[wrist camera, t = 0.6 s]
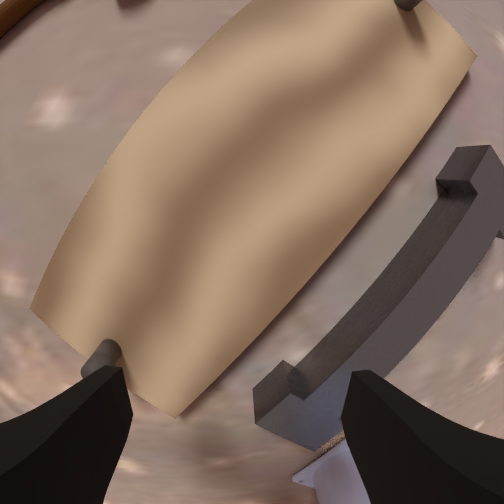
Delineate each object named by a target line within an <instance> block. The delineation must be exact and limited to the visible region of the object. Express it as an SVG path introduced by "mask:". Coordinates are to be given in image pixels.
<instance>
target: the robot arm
mask: <svg viewBox="0 0 504 504" xmlns="http://www.w3.org/2000/svg"><path fill="white" fill-rule="evenodd" d="M132 417H133V411H132V407H131V403H130V399H129V395H128V391H127V386H126V382H125V377H124V373H123V368H122V367H116V366H109V365H105V366H103V367H101V368H99V369H98V370H96V371H95V372H93V373H92V374H90V375H89V376H87V377H85V378H84V379H82V380H81V381H79V382H78V383H76V384H75V385H73V386H72V387H70V388H69V389H67V390H66V391H64V392H63V393H61V394H59V395H58V396H56V397H54V398H53V399H51V400H49V401H47V402H46V403H44V404H42V405H40V406H39V407H37V408H35V409H33V410H31V411H29V412H27V413H25V414H23V415H21V416H18V417H16V418H13V419H11V420H9V421H6V422H3V423H0V504H103V501H104V497H105V494H106V491H107V488H108V486H109V483H110V481H111V478H112V476H113V473H114V471H115V468H116V466H117V463H118V461H119V458H120V456H121V453H122V451H123V448H124V446H125V443H126V441H127V437H128V434H129V430H130V426H131V421H132ZM341 421H342V426H343V430H344V434H345V439H344V440H343V441H342V442H340V443H339V444H338V445H336V446H335V447H334V448H332V449H331V450H330V451H328V452H327V453H326V454H324V455H323V456H321V457H320V458H319V459H317V460H316V461H314V462H313V463H311V464H310V465H309V466H307V467H306V468H304V469H303V470H301V471H300V472H298V473H297V474H295V475H293V476H292V481H293V482H295V483H298V484H301V485H304V486H308V487H311V488H314V489H315V491H316V495H317V499H318V504H504V439H500V438H496V437H493V436H489V435H486V434H483V433H480V432H477V431H474V430H471V429H469V428H467V427H464V426H462V425H460V424H457V423H455V422H453V421H451V420H449V419H447V418H445V417H443V416H441V415H439V414H437V413H436V412H434V411H432V410H430V409H429V408H427V407H425V406H424V405H422V404H420V403H419V402H417V401H416V400H414V399H412V398H411V397H409V396H408V395H406V394H405V393H403V392H402V391H401V390H399V389H398V388H396V387H395V386H393V385H392V384H390V383H389V382H388V381H386V380H385V379H383V378H382V377H380V376H379V375H377V374H376V373H374V372H373V371H371V370H360V371H352V373H351V378H350V382H349V386H348V391H347V395H346V399H345V403H344V407H343V410H342V414H341Z"/></svg>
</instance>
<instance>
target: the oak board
mask: <svg viewBox="0 0 504 504" xmlns="http://www.w3.org/2000/svg"><path fill="white" fill-rule="evenodd" d="M476 57H477V55H476V54H475V53H474V51H473V50H472V49H471V48H470V47H469V45H468V44H467V43H466V42H465V41H464V40H463V39H462V37H461V36H460V35H459V34H458V33H457V32H456V31H455V30H454V29H453V28H452V26H451V25H450V24H449V23H448V22H447V21H446V20H445V19H444V18H443V17H442V16H441V15H440V14H439V13H438V12H437V11H436V10H435V9H434V8H433V7H432V6H431V5H429V4H428V3H427V2H426V1H425V0H252V1H251V2H250V3H249V4H248V5H246V6H245V7H244V8H243V9H242V10H241V11H239V12H238V13H237V14H236V15H235V16H234V17H233V18H231V19H230V20H229V21H228V22H227V23H226V24H225V25H224V26H223V27H221V28H220V29H219V30H218V31H217V32H216V33H215V34H214V35H213V36H212V37H211V38H210V39H209V40H208V41H207V42H206V43H205V44H204V45H203V46H202V47H201V48H200V49H199V50H198V51H197V52H196V53H195V54H194V55H193V56H192V57H191V58H190V59H189V60H188V61H187V62H186V63H185V64H184V65H183V66H182V68H181V69H180V70H179V71H178V72H177V73H176V74H175V75H174V76H173V77H172V79H171V80H170V81H169V82H168V83H167V84H166V85H165V87H164V88H163V89H162V90H161V91H160V92H159V94H158V95H157V96H156V97H155V98H154V100H153V101H152V102H151V103H150V104H149V106H148V107H147V108H146V109H145V111H144V112H143V113H142V114H141V116H140V117H139V118H138V120H137V121H136V122H135V123H134V125H133V126H132V127H131V129H130V130H129V131H128V133H127V134H126V135H125V137H124V138H123V140H122V141H121V142H120V144H119V145H118V147H117V148H116V149H115V151H114V152H113V154H112V155H111V157H110V158H109V160H108V161H107V163H106V164H105V166H104V167H103V169H102V170H101V172H100V173H99V175H98V176H97V178H96V179H95V181H94V183H93V184H92V186H91V187H90V189H89V191H88V192H87V194H86V196H85V197H84V199H83V201H82V202H81V204H80V206H79V207H78V209H77V211H76V213H75V214H74V216H73V218H72V220H71V222H70V223H69V225H68V227H67V229H66V231H65V233H64V235H63V236H62V238H61V240H60V242H59V244H58V246H57V248H56V250H55V252H54V254H53V256H52V258H51V260H50V263H49V265H48V267H47V269H46V271H45V273H44V276H43V278H42V280H41V282H40V285H39V287H38V289H37V292H36V294H35V296H34V299H33V301H32V304H31V306H30V309H31V310H32V311H33V312H34V313H35V314H36V315H37V316H38V317H39V318H40V319H41V320H42V321H43V322H44V323H45V324H47V325H48V326H49V327H50V328H51V329H52V330H53V331H54V332H55V333H57V334H58V335H59V336H60V337H61V338H62V339H63V340H65V341H66V342H67V343H68V344H69V345H71V346H72V347H73V348H74V349H75V350H77V351H78V352H79V353H80V354H82V355H83V356H84V357H85V358H87V359H88V361H87V362H86V363H85V364H84V366H83V367H82V369H81V375H82V377H83V379H84V378H85V377H87V376H89V375H90V374H92V373H93V372H95V371H96V370H98V369H99V368H101V367H103V366H105V365H109V366H116V367H122V368H123V373H124V377H125V382H126V386H127V389H129V390H130V391H132V392H133V393H135V394H136V395H138V396H139V397H141V398H142V399H144V400H146V401H147V402H149V403H150V404H152V405H153V406H155V407H157V408H158V409H160V410H162V411H163V412H165V413H167V414H168V415H170V416H172V417H173V418H176V417H177V416H178V415H179V414H181V413H182V412H183V411H184V410H185V409H186V408H187V407H188V406H189V405H190V404H191V403H192V402H193V401H194V400H195V399H196V398H197V397H198V396H199V395H200V394H201V393H202V392H203V391H204V390H205V389H206V388H207V387H208V386H209V385H210V384H211V383H212V382H213V381H214V380H215V379H216V378H217V377H218V376H219V375H220V374H221V373H222V372H223V371H224V370H225V369H226V368H227V367H228V366H229V365H230V364H231V363H232V362H233V361H234V360H235V359H236V358H237V357H238V356H239V355H240V354H241V353H242V352H243V351H244V350H245V349H246V348H247V347H248V346H249V345H250V343H251V342H252V341H253V340H254V339H255V338H256V337H257V336H258V335H259V334H260V333H261V332H262V331H263V330H264V329H265V328H266V326H267V325H268V324H269V323H270V322H271V321H272V320H273V319H274V318H275V317H276V316H277V315H278V313H279V312H280V311H281V310H282V309H283V308H284V307H285V306H286V305H287V304H288V302H289V301H290V300H291V299H292V298H293V297H294V296H295V295H296V294H297V292H298V291H299V290H300V289H301V288H302V287H303V286H304V284H305V283H306V282H307V281H308V280H309V279H310V278H311V277H312V275H313V274H314V273H315V272H316V271H317V270H318V268H319V267H320V266H321V265H322V264H323V263H324V261H325V260H326V259H327V258H328V257H329V256H330V254H331V253H332V252H333V251H334V250H335V249H336V247H337V246H338V245H339V244H340V243H341V241H342V240H343V239H344V238H345V237H346V235H347V234H348V233H349V232H350V230H351V229H352V228H353V227H354V226H355V224H356V223H357V222H358V221H359V219H360V218H361V217H362V216H363V215H364V213H365V212H366V211H367V210H368V208H369V207H370V206H371V205H372V203H373V202H374V201H375V199H376V198H377V197H378V196H379V194H380V193H381V192H382V191H383V189H384V188H385V187H386V185H387V184H388V183H389V182H390V180H391V179H392V178H393V176H394V175H395V174H396V172H397V171H398V170H399V168H400V167H401V166H402V164H403V163H404V162H405V160H406V159H407V158H408V156H409V155H410V154H411V152H412V151H413V150H414V148H415V147H416V146H417V144H418V143H419V141H420V140H421V139H422V137H423V136H424V135H425V133H426V132H427V130H428V129H429V128H430V126H431V125H432V123H433V122H434V120H435V119H436V118H437V116H438V115H439V113H440V112H441V110H442V109H443V108H444V106H445V105H446V103H447V102H448V100H449V99H450V97H451V96H452V94H453V93H454V91H455V90H456V88H457V87H458V85H459V84H460V82H461V81H462V79H463V78H464V76H465V75H466V73H467V71H468V70H469V68H470V67H471V65H472V64H473V62H474V60H475V59H476Z"/></svg>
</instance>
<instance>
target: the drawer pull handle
mask: <svg viewBox="0 0 504 504" xmlns="http://www.w3.org/2000/svg"><path fill="white" fill-rule="evenodd" d="M436 180H437V181H438V183H439V184H440V185H441V187H442V188H443V189H444V191H443V192H442V194H441V195H440V196H439V198H438V199H437V201H436V202H435V204H434V205H433V206H432V208H431V209H430V211H429V212H428V213H427V215H426V216H425V218H424V219H423V220H422V222H421V223H420V224H419V226H418V227H417V228H416V230H415V231H414V233H413V234H412V235H411V236H410V238H409V239H408V240H407V242H406V243H405V244H404V246H403V247H402V248H401V249H400V251H399V252H398V253H397V254H396V256H395V257H394V258H393V259H392V261H391V262H390V263H389V264H388V266H387V267H386V268H385V269H384V271H383V272H382V273H381V274H380V275H379V277H378V278H377V279H376V280H375V281H374V283H373V284H372V285H371V286H370V287H369V288H368V290H367V291H366V292H365V293H364V294H363V295H362V296H361V298H360V299H359V300H358V301H357V302H356V303H355V304H354V306H353V307H352V308H351V309H350V310H349V311H348V312H347V313H346V314H345V316H344V317H343V318H342V319H341V320H340V321H339V322H338V323H337V324H336V325H335V326H334V327H333V328H332V330H331V331H330V332H329V333H328V334H327V335H326V336H325V337H324V338H323V339H322V340H321V341H320V342H319V343H318V344H317V345H316V346H315V347H314V348H313V349H312V350H311V351H310V352H309V353H308V354H307V355H306V356H305V357H304V358H303V359H302V360H301V361H300V362H299V363H298V364H297V365H296V366H295V367H293V366H292V365H290V364H289V363H287V362H286V361H284V360H282V361H281V362H280V363H279V364H278V365H277V366H276V367H275V368H274V369H273V370H272V371H271V372H270V373H269V374H268V375H267V376H266V377H265V378H264V379H263V380H262V381H260V382H259V383H258V384H257V385H256V386H255V387H254V388H253V401H254V416H255V424H256V425H258V426H260V427H262V428H264V429H266V430H268V431H270V432H272V433H274V434H277V435H279V436H281V437H283V438H285V439H287V440H289V441H292V442H294V443H296V444H298V445H301V446H303V447H305V448H308V449H310V450H312V451H315V450H317V449H318V448H320V447H321V446H322V445H324V444H325V443H326V442H327V441H329V440H330V439H331V438H333V437H334V436H335V435H336V434H338V433H339V432H340V431H341V430H343V426H342V421H341V414H342V410H343V407H344V403H345V399H346V395H347V391H348V386H349V382H350V378H351V373H352V371H360V370H371V371H373V372H374V373H376V374H377V375H379V376H380V377H382V378H384V377H386V376H387V375H388V374H389V372H390V371H391V370H392V369H393V368H394V367H395V366H396V365H397V364H398V363H399V362H400V361H401V360H402V359H403V358H404V357H405V356H406V355H407V354H408V353H409V352H410V350H411V349H412V348H413V347H414V346H415V345H416V344H417V343H418V342H419V340H420V339H421V338H422V337H423V336H424V335H425V333H426V332H427V331H428V330H429V329H430V328H431V326H432V325H433V324H434V323H435V322H436V320H437V319H438V318H439V317H440V315H441V314H442V313H443V312H444V310H445V309H446V308H447V307H448V305H449V304H450V303H451V301H452V300H453V299H454V297H455V296H456V295H457V293H458V292H459V291H460V289H461V288H462V287H463V285H464V284H465V282H466V281H467V280H468V278H469V277H470V275H471V274H472V272H473V271H474V269H475V268H476V266H477V265H478V263H479V262H480V260H481V259H482V257H483V256H484V254H485V253H486V251H487V250H488V248H489V246H490V245H491V243H492V241H493V240H494V238H495V237H498V238H501V239H504V166H503V164H502V163H501V161H500V159H499V158H498V156H497V154H496V153H495V151H494V150H493V148H492V146H491V145H479V146H466V147H456V149H455V150H454V152H453V153H452V155H451V156H450V158H449V159H448V161H447V162H446V164H445V165H444V167H443V168H442V170H441V171H440V173H439V174H438V176H437V177H436Z"/></svg>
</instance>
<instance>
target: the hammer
mask: <svg viewBox="0 0 504 504" xmlns="http://www.w3.org/2000/svg"><path fill="white" fill-rule="evenodd" d="M43 1H45V0H5V1H4V2H3V3H1V4H0V38H1V37H2V36H3V35H4V34H5V33H6V32H7V31H8V30H9V29H10V28H11V27H12V26H14V25H15V24H16V23H17V22H18V21H19V20H20V19H21V18H23V17H24V16H25V15H26V14H27V13H29V12H30V11H31V10H32V9H33V8H35V7H36V6H37V5H39V4H40V3H42V2H43Z"/></svg>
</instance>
